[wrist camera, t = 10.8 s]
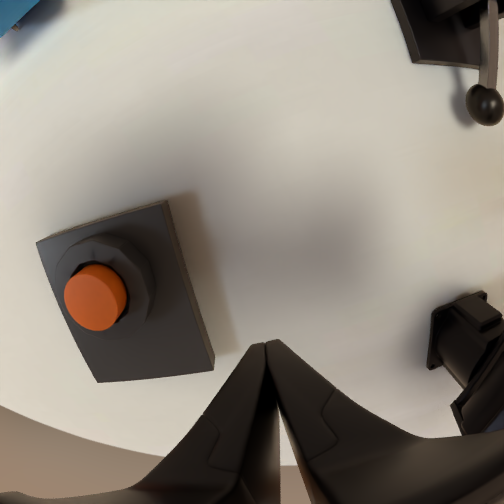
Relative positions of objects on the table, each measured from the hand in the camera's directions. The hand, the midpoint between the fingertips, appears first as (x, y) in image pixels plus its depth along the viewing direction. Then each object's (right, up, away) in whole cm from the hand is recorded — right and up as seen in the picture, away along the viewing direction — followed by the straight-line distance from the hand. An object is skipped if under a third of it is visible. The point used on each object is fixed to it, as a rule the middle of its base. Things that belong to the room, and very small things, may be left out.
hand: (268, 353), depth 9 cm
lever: (+15, +18, +4) cm, 24 cm away
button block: (-9, 0, +12) cm, 15 cm away
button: (-10, +1, +8) cm, 13 cm away
